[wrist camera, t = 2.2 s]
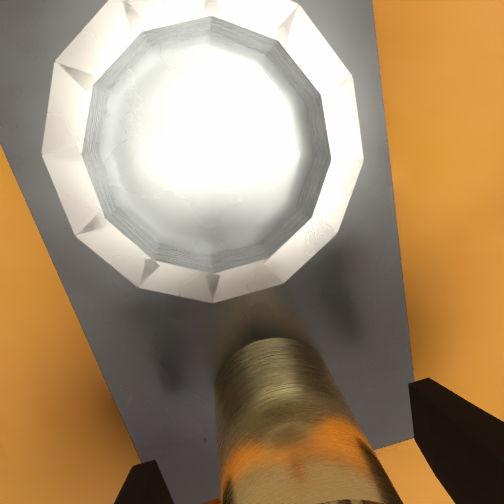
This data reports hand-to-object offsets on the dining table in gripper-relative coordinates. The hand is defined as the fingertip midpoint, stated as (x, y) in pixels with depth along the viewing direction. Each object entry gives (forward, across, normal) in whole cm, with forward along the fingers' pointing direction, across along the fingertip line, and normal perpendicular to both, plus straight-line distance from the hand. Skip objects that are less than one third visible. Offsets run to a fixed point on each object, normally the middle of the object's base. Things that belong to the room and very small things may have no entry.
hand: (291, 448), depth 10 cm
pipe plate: (+4, 0, -5) cm, 6 cm away
